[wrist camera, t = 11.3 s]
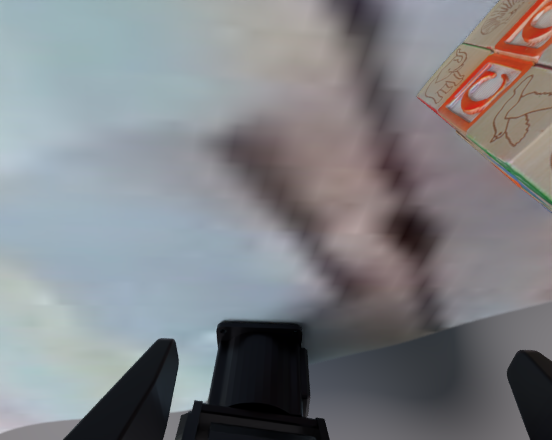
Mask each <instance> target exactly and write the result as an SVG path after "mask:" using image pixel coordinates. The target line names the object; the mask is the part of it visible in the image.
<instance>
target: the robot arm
mask: <svg viewBox="0 0 552 440" xmlns="http://www.w3.org/2000/svg"><path fill="white" fill-rule="evenodd" d="M294 331H297V332H294ZM216 332H217V343H218V352H217V357H216V362H215V367H214V372H213V378H212V383H211V388H210V393H209V398H208V403H207V404H206V403H203V401H196V400H195V401H194V405H193V409H192V411H190V412H188V413H186V414H184V415H181V418H180V423H179V427H178V431H177V434H176V438H175V440H330V439H329V435H328V431H327V427H326V423H325V420H324V419H323V418H316V419H312V418H306V417H307V416H308V411H309V402H310V385H309V370H308V355H307V350H306V349H305V348H302V347H301V341H302V328H301V327H300V326H299V325H287V324H255V323H219V324H218V326H217V331H216ZM178 365H179V359H178V353H177V347H176V342H175V340H174V339H167V338H161V339H158V340H157V341H156V342H155V343H154V344H153V345H152V346H151V347H150V348H149V349H148V350H147V351H146V352H145V353H144V354H143V355H142V357H141V358H140V359H139V360H138V361H137V362H136V363H135V364H134V365H133V366H132V367H131V368H130V369H129V370H128V371H127V372H126V373H125V374H124V376H123V377H122V378H121V379H120V380H119V381H118V382H117V383H116V384H115V385H114V386H113V387H112V388H111V389H110V390H109V391H108V392H107V394H106V395H105V396H104V397H103V398H102V399H101V400H100V401H99V402H98V403H97V404H96V405H95V406H94V407H93V408H92V409H91V410H90V412H89V413H88V414H87V415H86V416H85V417H84V418H83V419H82V420H81V421H80V422H79V423H78V424H77V425H76V426H75V427H74V429H73V430H72V431H71V432H70V433H69V434H68V435H67V436H66V437H65V438H64V439H63V440H163V437H164V434H165V430H166V426H167V421H168V417H169V412H170V407H171V402H172V397H173V392H174V386H175V381H176V376H177V371H178ZM507 377H508V381H509V384H510V386H511V389H512V392H513V395H514V397H515V400H516V403H517V406H518V408H519V411H520V414H521V416H522V419H523V422H524V425H525V427H526V430H527V432H528V435H529V437H530V440H552V361H551V360H549V359H548V358H546V357H545V356H544V355H542V354H541V353H539V352H537V351H533V350H520V351H518V352H517V353H516V355H515V357H514V358H513V360H512V362H511V364H510V366H509V367H508V370H507Z"/></svg>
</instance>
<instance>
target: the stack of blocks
mask: <svg viewBox="0 0 552 440" xmlns="http://www.w3.org/2000/svg"><path fill="white" fill-rule="evenodd" d="M417 98H418V99H420V100H421V101H422V102H423V103H424V104H426V105H427V106H428V107H429V108H431V109H432V110H433V111H434V112H435V113H436V114H438V115H439V116H440V117H441V118H442V119H444V120H445V121H446V122H447V123H448V124H450V125H451V126H452V127H453V128H455V129H456V133H457V134H458V135H459V136H461V137H462V138H463V139H464V140H465V141H466V142H468V143H469V144H470V145H471V146H472V147H473V148H475V149H476V150H477V151H478V152H479V153H481V154H482V155H483V156H484V157H485V158H486V159H488V160H489V161H490V162H491V163H492V164H493V165H494V166H495V167H496V168H498V169H499V170H500V171H501V172H502V173H504V174H505V175H506V176H507V177H508V178H509V179H510V180H512V181H513V182H514V183H515V184H516V185H517V186H518V187H520V188H521V189H522V190H524V191H525V192H526V193H528V194H529V195H530V196H532V197H533V198H534V199H535V200H537V201H538V202H539V203H540V204H541V205H543V206H544V207H545V208H546V209H547V210H548V211H549V212H551V213H552V0H499V2H498V3H497V4H496V5H495V6H494V7H493V8H492V10H491V11H490V12H489V13H488V14H487V15H486V17H485V18H484V19H483V20H482V21H481V22H480V23H479V25H478V26H477V27H476V28H475V29H474V30H473V31H472V32H471V33H470V35H469V36H468V37H467V38H466V39H465V41H464V42H463V43H462V44H461V45H460V46H458V47H457V49H456V50H455V51H454V52H453V53H452V54H451V55H450V56H449V57H448V59H447V60H446V61H445V62H444V63H443V64H442V65H441V67H440V68H439V69H438V70H437V71H436V72H435V74H434V75H433V76H432V77H431V78H430V79H429V81H428V82H427V83H426V84H425V86H424V87H423V88H422V89H421V91H420V92H419V93H418V95H417Z"/></svg>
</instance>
